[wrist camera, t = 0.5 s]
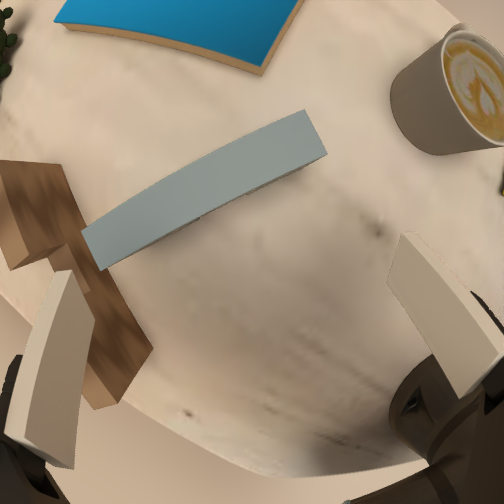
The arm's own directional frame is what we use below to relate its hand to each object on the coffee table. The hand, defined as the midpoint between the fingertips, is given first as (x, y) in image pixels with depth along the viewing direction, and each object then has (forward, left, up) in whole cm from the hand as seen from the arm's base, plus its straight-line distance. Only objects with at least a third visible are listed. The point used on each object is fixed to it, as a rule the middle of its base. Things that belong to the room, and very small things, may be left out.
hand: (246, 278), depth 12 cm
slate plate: (+4, +2, -17) cm, 17 cm away
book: (+27, -5, -17) cm, 33 cm away
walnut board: (+4, +17, -17) cm, 24 cm away
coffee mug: (+4, -23, -17) cm, 29 cm away
